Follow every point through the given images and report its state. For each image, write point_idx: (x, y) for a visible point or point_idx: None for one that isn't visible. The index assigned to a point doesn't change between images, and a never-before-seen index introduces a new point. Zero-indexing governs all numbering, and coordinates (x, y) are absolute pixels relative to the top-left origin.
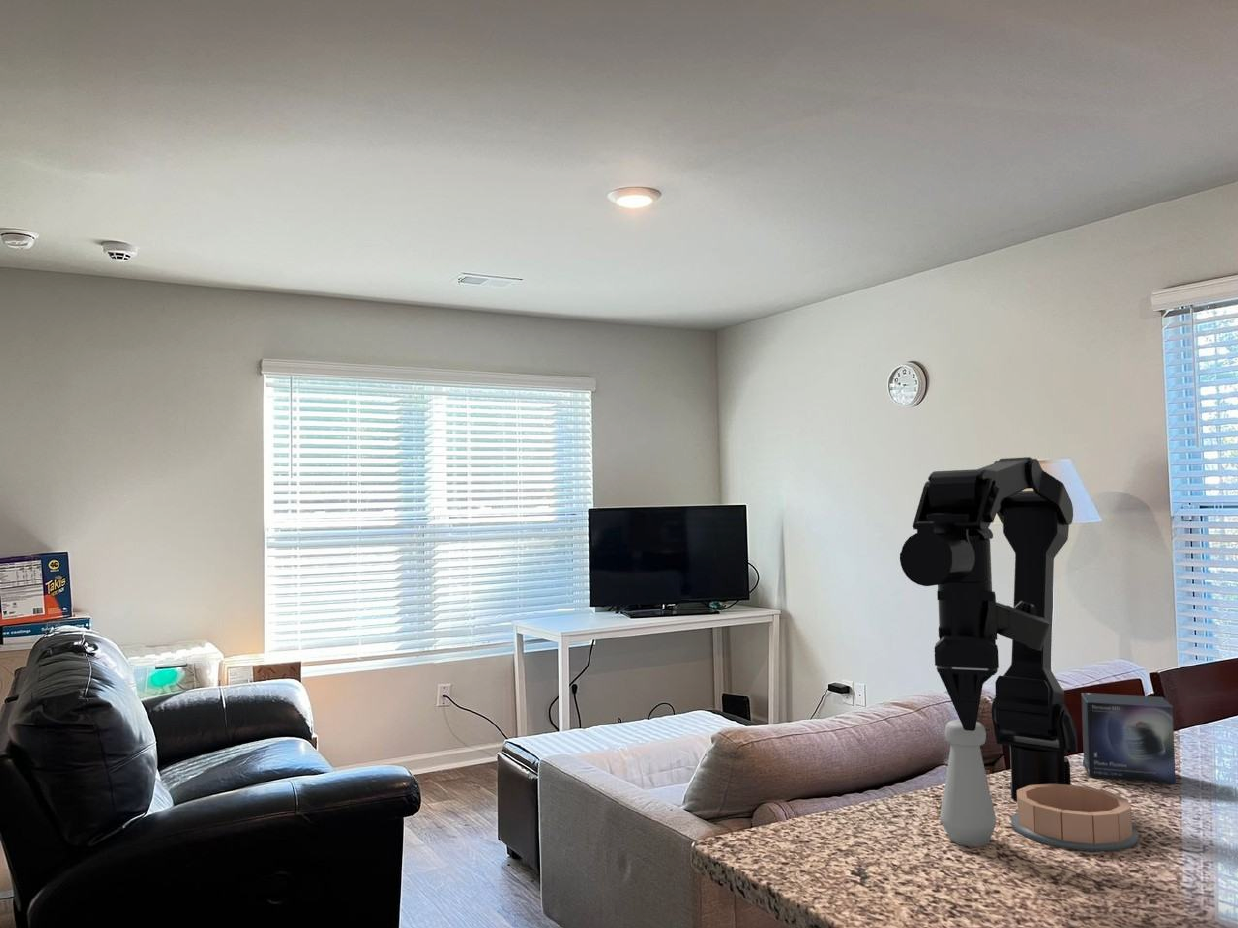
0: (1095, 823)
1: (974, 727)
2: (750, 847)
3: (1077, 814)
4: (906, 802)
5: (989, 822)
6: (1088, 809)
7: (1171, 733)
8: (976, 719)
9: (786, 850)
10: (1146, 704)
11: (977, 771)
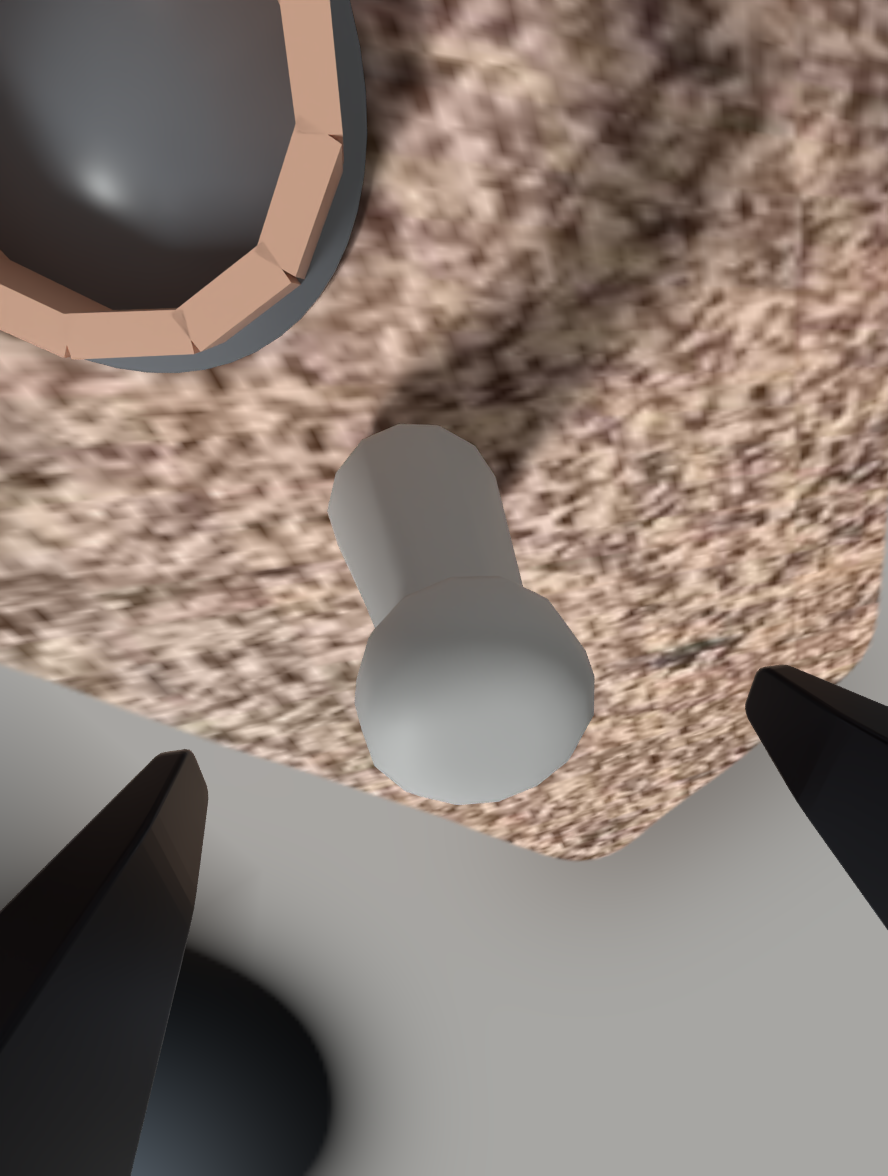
0: None
1: (805, 674)
2: (592, 816)
3: (333, 40)
4: (146, 679)
5: (468, 444)
6: None
7: None
8: (871, 700)
9: (593, 775)
10: None
11: (499, 544)
